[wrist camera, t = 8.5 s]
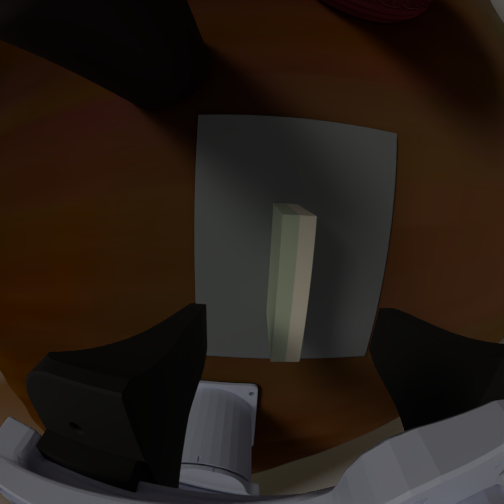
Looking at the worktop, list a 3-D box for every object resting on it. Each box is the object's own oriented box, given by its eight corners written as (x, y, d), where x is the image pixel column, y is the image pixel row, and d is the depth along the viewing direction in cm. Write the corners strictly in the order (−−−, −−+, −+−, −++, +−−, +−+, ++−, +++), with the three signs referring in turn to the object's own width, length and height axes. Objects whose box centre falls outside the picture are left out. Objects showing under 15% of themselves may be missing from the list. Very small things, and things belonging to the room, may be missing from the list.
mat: (363, 353, 22) (364, 355, 22) (199, 351, 22) (198, 354, 22) (394, 134, 18) (396, 133, 17) (199, 116, 17) (198, 114, 17)
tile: (297, 204, 19) (316, 216, 13) (287, 313, 21) (299, 361, 15) (273, 202, 19) (282, 214, 13) (266, 313, 21) (270, 361, 15)
